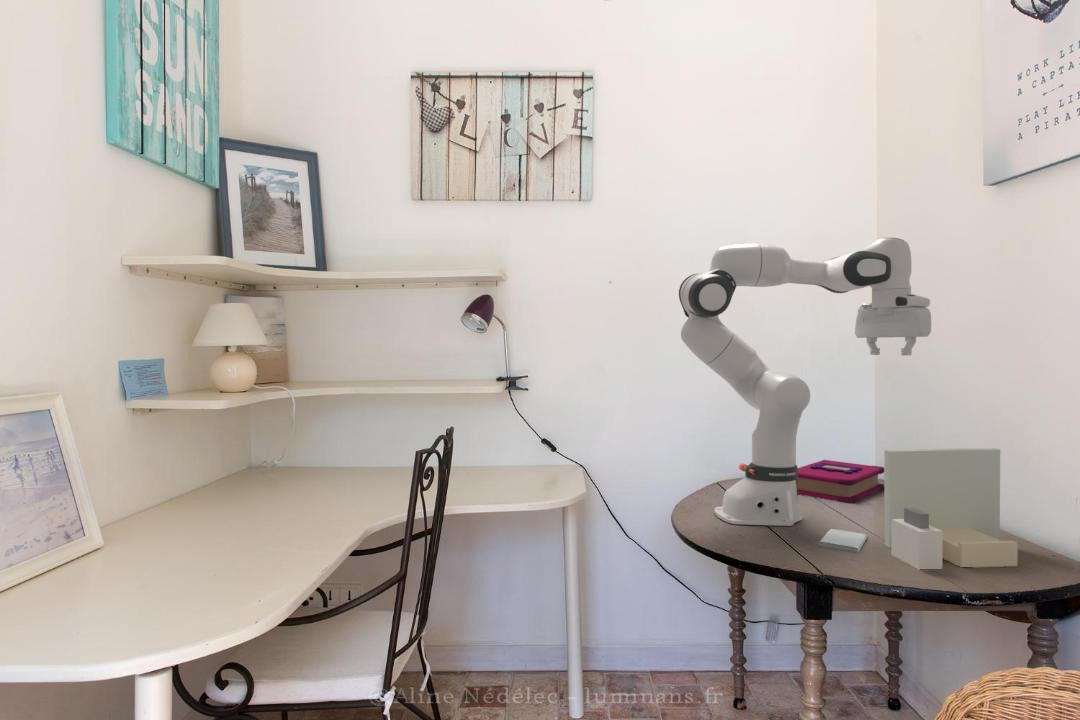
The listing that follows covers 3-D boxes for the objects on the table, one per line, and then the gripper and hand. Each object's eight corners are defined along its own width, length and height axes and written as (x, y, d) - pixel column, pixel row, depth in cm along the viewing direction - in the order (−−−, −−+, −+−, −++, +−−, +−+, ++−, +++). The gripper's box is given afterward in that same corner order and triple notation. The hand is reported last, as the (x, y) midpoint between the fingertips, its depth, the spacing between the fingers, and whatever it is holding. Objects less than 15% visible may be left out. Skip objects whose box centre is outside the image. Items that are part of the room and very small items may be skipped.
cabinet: (918, 570, 125) (919, 517, 125) (891, 555, 134) (891, 505, 134) (942, 569, 125) (942, 516, 125) (913, 554, 134) (913, 505, 134)
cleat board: (928, 568, 126) (929, 462, 125) (884, 545, 141) (884, 449, 140) (1049, 565, 127) (1050, 460, 127) (992, 542, 142) (993, 447, 141)
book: (781, 492, 193) (781, 468, 193) (819, 479, 212) (819, 457, 211) (851, 505, 177) (851, 479, 177) (886, 489, 196) (886, 465, 196)
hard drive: (858, 548, 136) (867, 533, 146) (818, 541, 141) (829, 527, 151) (858, 555, 136) (866, 540, 146) (818, 548, 141) (829, 534, 151)
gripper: (849, 304, 167) (848, 354, 167) (916, 298, 147) (915, 355, 147) (867, 304, 169) (866, 354, 169) (936, 299, 149) (935, 355, 149)
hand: (890, 355), depth 158 cm, fingers open, 8 cm apart
